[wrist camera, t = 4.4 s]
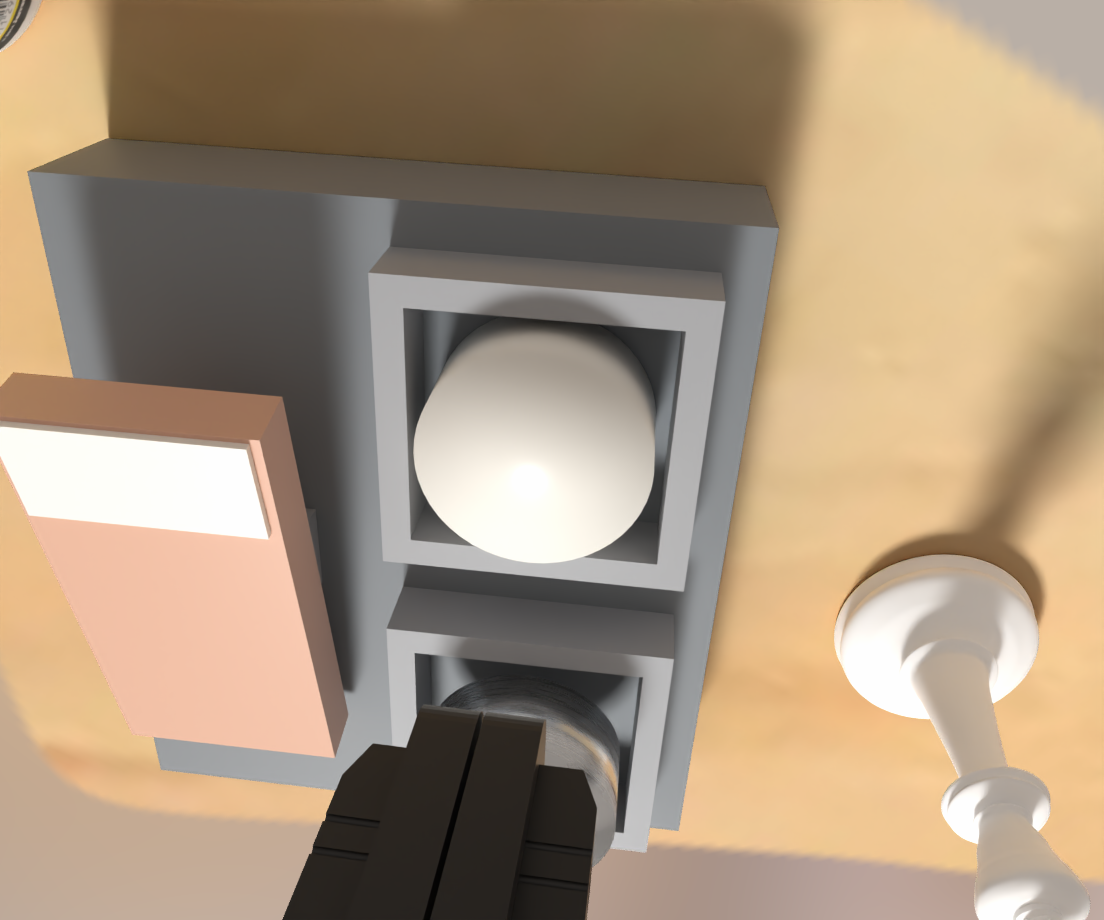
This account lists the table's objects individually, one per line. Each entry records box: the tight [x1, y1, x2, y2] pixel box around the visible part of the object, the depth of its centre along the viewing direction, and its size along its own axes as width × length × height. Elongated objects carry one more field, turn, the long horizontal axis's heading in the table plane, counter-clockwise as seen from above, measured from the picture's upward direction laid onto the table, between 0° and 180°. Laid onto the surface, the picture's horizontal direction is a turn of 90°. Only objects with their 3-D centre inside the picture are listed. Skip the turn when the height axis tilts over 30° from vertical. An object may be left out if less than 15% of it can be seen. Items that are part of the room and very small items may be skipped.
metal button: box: [440, 675, 620, 867], centre depth 21 cm, size 4×4×2 cm
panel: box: [27, 138, 779, 852], centre depth 22 cm, size 14×16×4 cm
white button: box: [413, 316, 656, 563], centre depth 18 cm, size 4×4×2 cm
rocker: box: [0, 372, 349, 758], centre depth 20 cm, size 5×10×1 cm, turn 178°
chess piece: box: [834, 554, 1090, 920], centre depth 21 cm, size 5×5×10 cm
